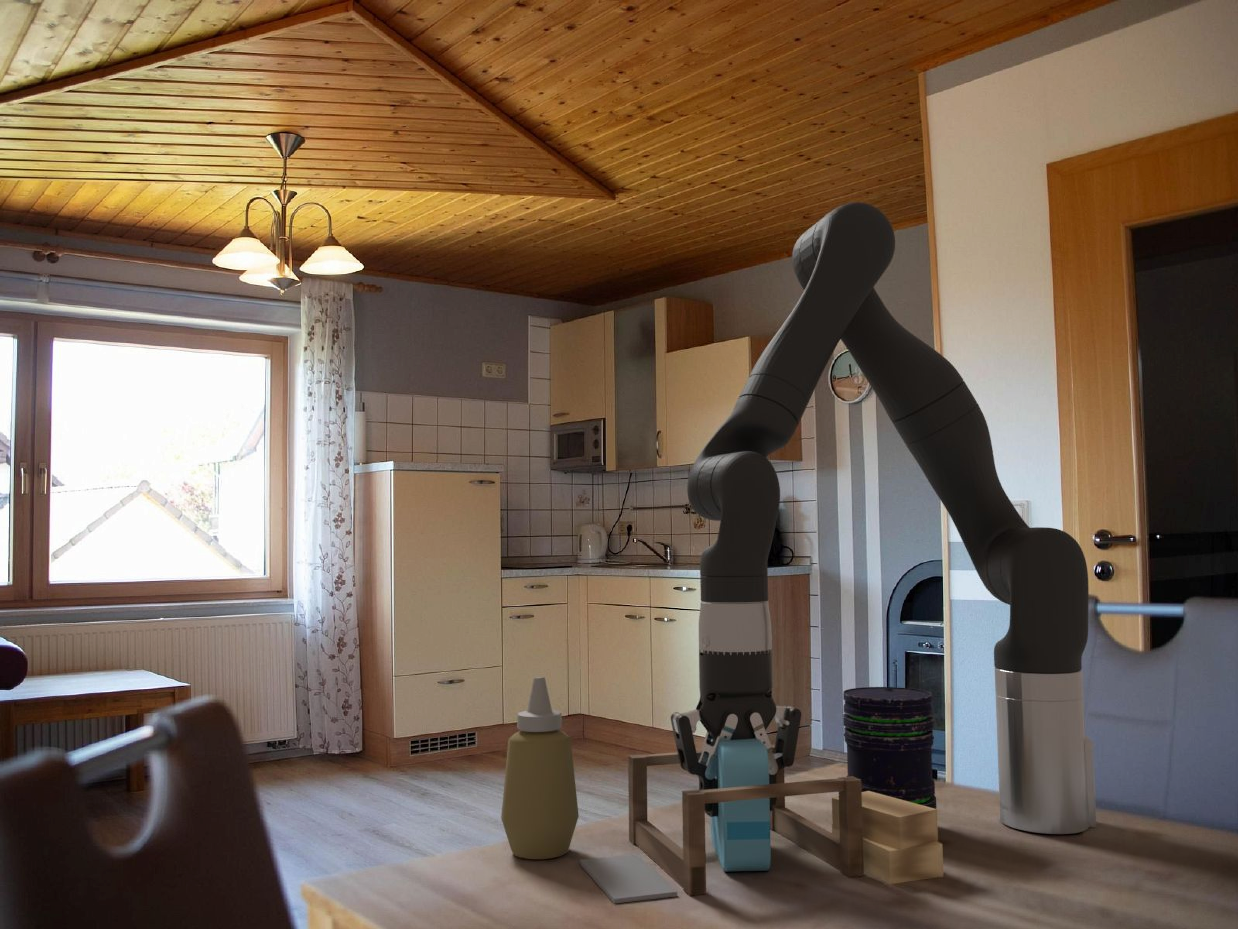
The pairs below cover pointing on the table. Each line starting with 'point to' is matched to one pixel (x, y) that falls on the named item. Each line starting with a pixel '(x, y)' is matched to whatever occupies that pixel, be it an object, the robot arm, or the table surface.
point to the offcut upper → (893, 821)
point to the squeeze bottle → (539, 782)
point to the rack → (691, 859)
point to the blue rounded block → (742, 808)
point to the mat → (627, 878)
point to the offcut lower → (901, 861)
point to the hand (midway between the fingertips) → (738, 811)
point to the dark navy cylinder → (891, 742)
